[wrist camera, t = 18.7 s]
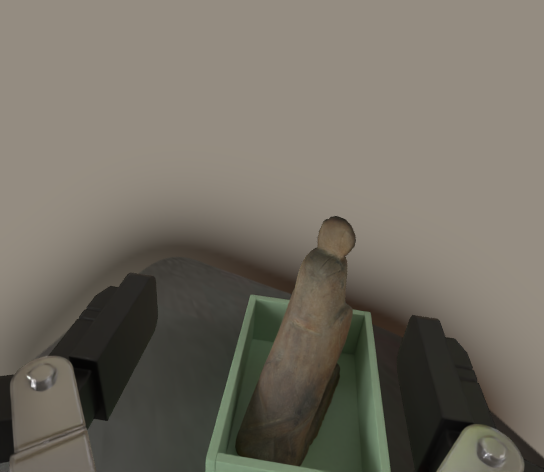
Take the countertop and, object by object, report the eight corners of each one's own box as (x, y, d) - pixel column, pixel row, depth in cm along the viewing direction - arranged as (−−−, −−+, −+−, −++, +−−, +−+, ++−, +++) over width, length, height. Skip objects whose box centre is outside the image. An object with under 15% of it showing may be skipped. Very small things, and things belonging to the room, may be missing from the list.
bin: (204, 508, 28) (205, 459, 25) (247, 337, 42) (250, 294, 39) (373, 539, 27) (393, 492, 24) (359, 354, 41) (370, 312, 38)
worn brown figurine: (293, 375, 40) (336, 198, 35) (345, 402, 38) (400, 218, 32) (219, 452, 31) (262, 222, 25) (283, 495, 28) (347, 252, 22)
